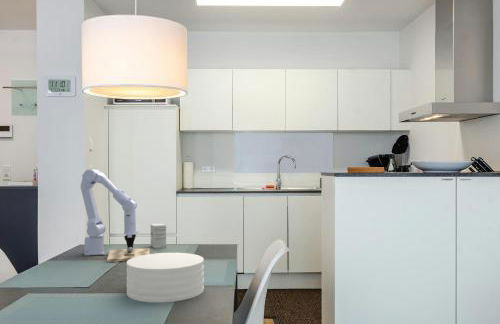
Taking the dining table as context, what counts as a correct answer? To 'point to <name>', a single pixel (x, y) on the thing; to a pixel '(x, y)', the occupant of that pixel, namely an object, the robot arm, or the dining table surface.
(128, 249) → the steel ball
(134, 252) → the birch board
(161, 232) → the supplement box
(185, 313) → the dining table surface
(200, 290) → the plate stack
